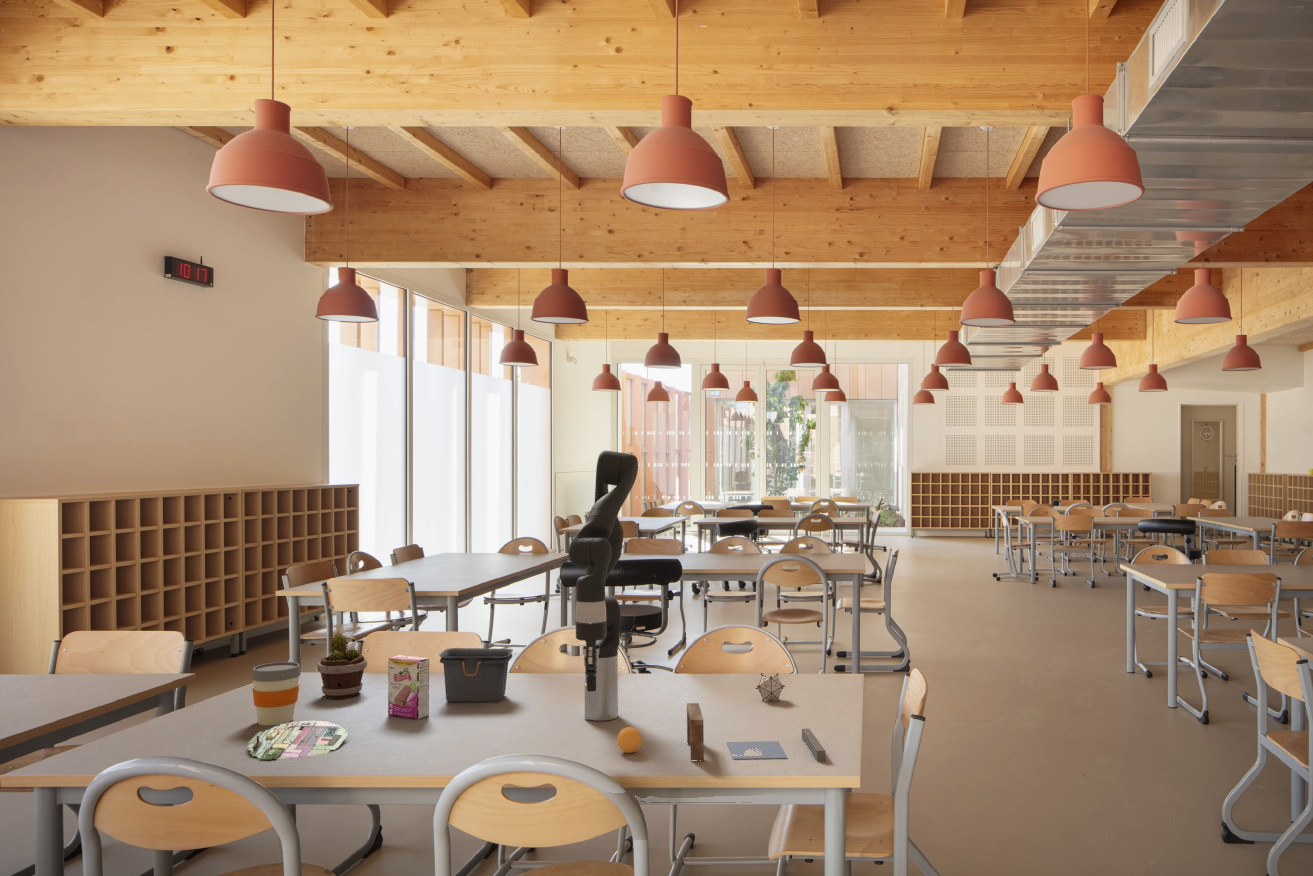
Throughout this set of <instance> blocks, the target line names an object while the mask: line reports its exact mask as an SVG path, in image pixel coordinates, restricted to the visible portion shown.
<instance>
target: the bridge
mask: <svg viewBox="0 0 1313 876" xmlns="http://www.w3.org/2000/svg"><path fill="white" fill-rule="evenodd" d="M701 710H702V709H701V707H700V703H699V702H694V703H693V702H691V703H690V702H687V703H686V743H688V744H690V746H689V747H690V761H691V760H698V761H697V762H705V760H704V759H705V754H704V753H705V752H704V751H705V750H704V748H705V743H704V738H705V737H704V716H703V714H702V713H703V712H702V711H701ZM688 744H687V745H688ZM700 760H701V761H700Z"/></svg>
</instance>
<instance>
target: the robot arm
mask: <svg viewBox="0 0 1313 876" xmlns="http://www.w3.org/2000/svg"><path fill="white" fill-rule="evenodd" d="M596 461H597V462H596V468H595V470H596V471H595V487H594V490H595V491H594V504H593V505H592V507H591V509H590V511H589V513H588V516H587V518H586V521H585V524H584V525H583V526H582V527H581V528H580V530H579V531H578V532H577V533H576V535H574V537H573V538H572V540H571V542H570V544H569V546H568V551H567V553H568V559H569V561H570V562H571V564H573V565H574V566H578V567H586V572H585V575H584V576H583V575H582V576H579V578H577V580H576V588H575V591H576V603H575V605H576V606H575V638H576V639H577V640H578V641H584V642H585V645H583V647H582V655H583V666H584V683H585V684H584V720H589V721H599V722H600V721H604V722H605V721H611V720H614V719H617V718H618V717H619V658H618V657H619V647H620V640H621V623H622V622H621V607H620V604H619V601H618V599H617V598H615V596H614V597H613V596H606V580H607V578H608V577H609V576H610V574H611V572H612V571H613V570H614V568H615V567H616V565H617V563H618V562H619V560H620V558H621V555H622V550H623V541H624V529H623V525H622V524H621V521H620V520H619V517H618V515H619V512H620V510H621V509H622V506H624V503H625V502H626V500H627V498H628V496H629V494H630V493H631V491H632V489H633V487H634V485H635V482H636V480H637V477H638V472H639V471H638V470H639V461H638V457H637V456H636V455H634V454H632V453H628V452H619V451H613V450H603V451H600V453H599V455H598V458H597V460H596ZM609 486H615V487H613V489H612V490H610V491H609Z"/></svg>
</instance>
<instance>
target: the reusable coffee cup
mask: <svg viewBox="0 0 1313 876" xmlns="http://www.w3.org/2000/svg"><path fill="white" fill-rule="evenodd" d="M301 674H302V673H301V665H300V663H299V662H295V661H281V662H280V661H279V662H268V663H263V664H259V665H256V666H254V667H253V668H252V672H251V680H252V682H253V683H252V684H253V688H252V696H253V705H254V706H255V709H256V715H257V717H256V718H257V723H258V725H261V726H280V724H286V723H291V722H293V720H294V714H295V708H296V703H297V702H298V697H299V691H300V683H299V681H300V676H301Z"/></svg>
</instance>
